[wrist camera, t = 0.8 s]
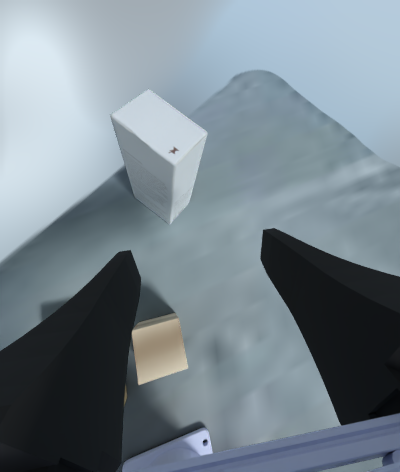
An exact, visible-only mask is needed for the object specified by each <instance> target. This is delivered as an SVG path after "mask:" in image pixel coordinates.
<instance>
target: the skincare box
mask: <svg viewBox="0 0 400 472" xmlns="http://www.w3.org/2000/svg"><path fill="white" fill-rule="evenodd" d="M111 120H112V123H113V126H114V130H115V133H116V137H117V139H118V143H119V146H120V150H121V153H122V156H123V160H124V163H125V167H126V170H127V173H128V177H129V180H130V183H131V187H132V190H133V193H134V196H135V198H136V199H138V200H139V201H140V202H142V203H143V204H144V205H145V206H147V207H148V208H149V209H150V210H152V211H153V212H154V213H156V214H157V215H158V216H160V217H161V218H162V219H163V220H165V221H166V222H167V223H168V224H171V223H172V222H173V220H174V219H175V218H176V217H177V216H178V215H179V214H180V213H181V211H182V210H183V209H184V208H185V207H186V206H187V205H188V204H189V201H190V198H191V194H192V190H193V186H194V182H195V179H196V175H197V171H198V167H199V163H200V160H201V156H202V152H203V148H204V145H205V141H206V137H207V131H205V130H204V129H203V128H201V127H200V126H198V125H197V124H196V123H194V122H193V121H191V120H190V119H189V118H187V117H186V116H185V115H183V114H182V113H181V112H179V111H178V110H177V109H175V108H174V107H173V106H171V105H170V104H168V103H167V102H166V101H164V100H163V99H162V98H160V97H159V96H158V95H156V94H155V93H154V92H152V91H151V90H150V89H147V90H146V91H144V92H143V93H141V94H140V95H138V96H137V97H136V98H134V99H133V100H131V101H130V102H129V103H127V104H126V105H124V106H123V107H121V108H120V109H118V110H117V111H115V112H113V113H112V114H111Z"/></svg>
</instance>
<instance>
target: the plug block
mask: <svg viewBox="0 0 400 472" xmlns="http://www.w3.org/2000/svg"><path fill="white" fill-rule="evenodd" d="M132 339H133V346H134V354H135V361H136V369H137V377H138V384H139V385H141V384H143V383H146V382H149V381H152V380H155V379H158V378H161V377H164V376H167V375H170V374H173V373H176V372H178V371H181V370H184V369H187V368H188V365H187V360H186V354H185V349H184V344H183V339H182V333H181V328H180V323H179V318H178V316H177V315H176V313H172V314H168V315H164V316H160V317H157V318H153V319H149V320H145V321H142V322H139V323H138V324H137V325H136V326H135V327H134V329H133V330H132Z"/></svg>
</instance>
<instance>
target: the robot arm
mask: <svg viewBox="0 0 400 472" xmlns="http://www.w3.org/2000/svg"><path fill="white" fill-rule="evenodd" d="M261 261H262V264H263V266H264V268H265V270H266V273H267V275H268V276H269V278H270V280H271V281H272V283H273V284H274V286H275V288H276V289H277V291H278V292H279V294H280V296H281V297H282V299H283V300H284V302H285V303H286V305H287V307H288V308H289V310H290V312H291V313H292V315H293V317H294V319H295V321H296V323H297V325H298V327H299V329H300V331H301V333H302V335H303V337H304V339H305V341H306V344H307V346H308V348H309V350H310V352H311V354H312V356H313V359H314V361H315V363H316V366H317V368H318V370H319V372H320V375H321V377H322V379H323V382H324V384H325V387H326V389H327V392H328V394H329V397H330V399H331V402H332V404H333V406H334V409H335V412H336V414H337V417H338V420H339V422H340V424H341V426H338V427H333V428H328V429H324V430H319V431H314V432H310V433H305V434H300V435H296V436H291V437H286V438H282V439H277V440H272V441H268V442H263V443H258V444H254V445H249V446H244V447H240V448H235V449H230V450H226V451H221V452H216V453H213V452H212V447H211V442H210V437H209V433H208V430H207V429H206V428H201V429H198V430H196V431H193V432H191V433H189V434H186V435H184V436H182V437H179V438H177V439H175V440H172V441H170V442H168V443H165V444H163V445H161V446H158V447H156V448H154V449H151V450H149V451H147V452H144V453H142V454H139V455H137V456H135V457H132V458H130V459H128V460H126V461H125V462H124V464H123V468H122V472H317V471H322V470H326V469H331V468H335V467H339V466H344V465H348V464H353V463H357V462H362V461H366V460H370V459H375V458H379V457H383V460H382V464H383V467H380V468H376V469H373V470H369V471H366V472H400V277H398V276H395V275H391V274H387V273H384V272H380V271H377V270H374V269H370V268H367V267H364V266H361V265H358V264H355V263H352V262H349V261H347V260H344V259H341V258H338V257H336V256H333V255H331V254H329V253H326V252H324V251H322V250H319V249H317V248H315V247H313V246H310V245H308V244H306V243H304V242H302V241H300V240H298V239H296V238H294V237H292V236H290V235H288V234H286V233H284V232H282V231H279V230H277V229H275V228H272V229H266V230H263V237H262V248H261ZM140 286H141V277H140V274H139V272H138V269H137V266H136V263H135V261H134V258H133V255H132V253H131V250H128V251H122V252H118V253H117V254H116V255H115V256H114V257H113V258H112V259H111V260H110V261H109V262H108V263H107V264H106V265H105V267H104V268H103V269H102V270H101V271H100V272H99V273H98V274H97V275H96V276H95V277H94V278H93V279H92V280H91V281H90V282H89V283H88V284H87V285H85V286H84V287H83V288H82V289H81V290H80V291H79V292H78V293H77V294H76V295H75V296H74V297H73V298H71V299H70V300H69V301H68V302H67V303H66V304H64V305H63V306H62V307H61V308H59V309H58V310H57V311H56V312H55V313H53V314H52V315H51V316H49V317H48V318H47V319H45V320H44V321H43V322H41V323H40V324H39V325H37V326H36V327H34V328H33V329H32V330H30V331H29V332H28V333H26V334H25V335H24V336H22V337H21V338H19V339H18V340H16V341H15V342H13V343H12V344H10V345H9V346H7V347H6V348H4V349H3V350H1V351H0V472H116V470H117V469H118V467H119V465H120V464H121V453H122V431H123V412H124V398H125V385H126V374H127V364H128V355H129V346H130V340H131V335H132V330H133V325H134V321H135V316H136V311H137V306H138V302H139V297H140ZM204 439H207V442H206V443H203V440H204Z"/></svg>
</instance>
